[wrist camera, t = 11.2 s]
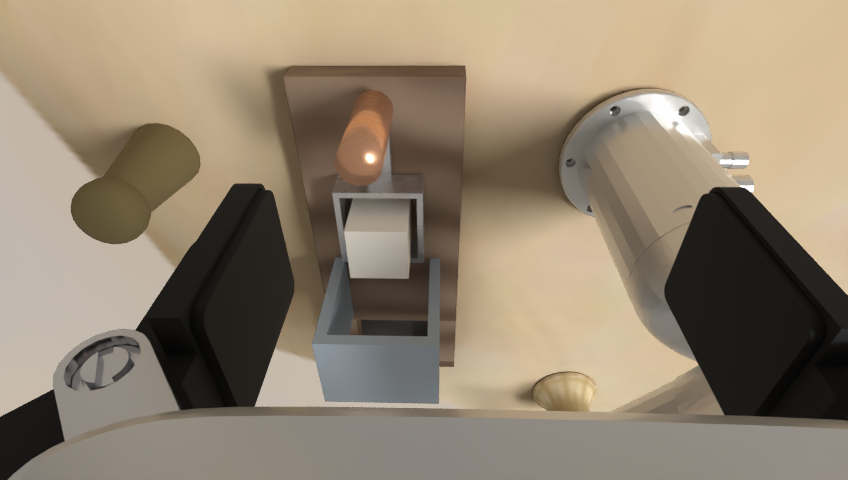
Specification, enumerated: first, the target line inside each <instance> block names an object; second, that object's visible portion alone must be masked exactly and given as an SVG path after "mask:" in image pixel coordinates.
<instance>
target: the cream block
mask: <svg viewBox="0 0 848 480" xmlns="http://www.w3.org/2000/svg"><path fill="white" fill-rule="evenodd" d="M344 235H345V242H346V250H347V257H348V264H349V271H350V278H388V279H409V268H410V256H411V244H412V217H411V199H389V198H353V200H352V204H351V207H350V211H349V215H348V218H347V222H346V226H345V230H344Z"/></svg>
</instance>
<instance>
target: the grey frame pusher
mask: <svg viewBox="0 0 848 480" xmlns="http://www.w3.org/2000/svg"><path fill="white" fill-rule="evenodd" d="M393 113H394V108H393V104H392V102H391V100H390V99H389V97H388V96H387V95H385V94H384V93H382V92H379V91H375V90H370V91H366V92H364V93H362V94H361V95H360V96H359V97H358V98H357V100H356V102H355V105H354V108H353V110H352V113H351V116H350V119H349V121H348V124H347V127H346V129H345V132H344V135H343V138H342V140H341V143H340V146H339V149H338V151H337V154H336V157H335V169H336V171H337V173H338V177H337V180H336V183H335V186H334V189H333V192H332V196H333V202H334V209H335V216H336V222H337V229H338V236H339V242H340V249H341V255H342V262H348V257H347V250H346V242H345V235H344V230H345V226H346V222H347V218H348V215H349V208H348V201H347V198H389V199H417V236H418V238H412V244H411V256H410V263H424V245H425V231H424V175H392V158H391V140H390V129H391V124H392V118H393Z"/></svg>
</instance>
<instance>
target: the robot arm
mask: <svg viewBox="0 0 848 480" xmlns="http://www.w3.org/2000/svg"><path fill="white" fill-rule="evenodd" d="M613 106H615V107H614V108H613V109H611V108H612V107H613ZM681 107H682V108H681ZM680 108H681V109H680ZM711 140H712V135H711V131H710V127H709V123H708V122H707V120H706V118H705V116H704V115H703V113H702V112H701V111H700V110H699V109H698V108H697V107H696V106H695V105H694V104H693V103H692V102H691V101H689V100H688V99H687V98H685V97H684V96H681V95H679V94H677V93H675V92H672V91H667V90H662V89H639V90H633V91H628V92H625V93H622V94H619V95H616V96H614V97H611V98H610V99H608V100H606V101H604V102H602V103H600V104H598V105H597V106H596V107H594V108H593V109H592V110H590V111H589V112H588V113H586V114H585V115H584V116H583V117H582V119H581V120H580V121H579V122H578V123H577V124H576V125H575V126H574V128H573V129H572V131H571V132H570V133H569V135H568V136H567V138H566V141H565V143H564V145H563V147H562V150H561V154H560V159H559V176H560V181H561V184H562V187H563V189H564V192H565V194H566V195H567V197H568V199H569V200H570V202H571V203H572V204H573V205H574V206H575V207H577V208H578V209H579V210H580V211H582V212H583V213H585V214H587V215H589V216H592V217H595V219H596V221H597V223H598V226H599V228H600V230H601V233H602V235H603V237H604V240H605V242H606V244H607V247H608V249H609V251H610V254H611V256H612V258H613V260H614V263H615V265H616V267H617V270H618V272H619V274H620V277H621V279H622V281H623V284H624V286H625V288H626V291H627V293H628V295H629V298H630V300H631V302H632V304H633V307H634V309H635V311H636V313H637V315H638V317H639V319H640V320H641V322H642V324H643V325H644V326H645V327H646V329H647V330H648V331H649V332H650V333H651V334H652V335H653V336H654V337H655V338H656V339H657V340H659V341H660V342H661V343H662V344H664V345H665V346H667V347H668V348H670V349H672V350H673V351H675V352H677V353H679V354H681V355H683V356H685V357H687V358H689V359H692V360H694V361H696V362H697V363H698V364H699V366H697V367H695V368H693V369H691V370H690V371H688V372H686V373H684V374H682V375H680V376H678V377H677V378H676V379H675V380H674V381H672V382H670V383H668V384H666V385H664V386H662V387H660V388H658V389H656V390H654V391H652V392H650V393H648V394H646V395H644V396H642V397H640V398H637V399H635V400H633V401H631V402H629V403H627V404H625V405H623V406H621V407H619V408H617V409H615V410H613V411H612V412H574V411H529V410H480V409H424V408H363V407H361V408H360V407H255V403H256V401H257V398H258V395H259V392H260V389H261V386H262V384H263V381H264V378H265V375H266V372H267V369H268V366H269V363H270V360H271V358H272V355H273V352H274V349H275V346H276V343H277V340H278V337H279V335H280V332H281V329H282V326H283V323H284V320H285V317H286V314H287V312H288V309H289V306H290V303H291V300H292V297H293V294H294V278H293V274H292V270H291V265H290V261H289V257H288V253H287V249H286V244H285V240H284V236H283V232H282V228H281V224H280V219H279V215H278V211H277V207H276V203H275V199H274V195H273V193H272V191H270V190H265V188H264V186H263V185H262V184H234V185H233V186H232V187H231V189H230V190H229V192H228V193H227V195H226V196H225V198H224V200H223V201H222V203H221V204H220V206H219V207H218V209H217V210H216V212H215V213H214V215H213V216H212V218H211V219H210V221H209V222H208V224H207V225H206V227H205V229H204V230H203V232H202V233H201V235H200V236H199V238H198V239H197V241H196V242H195V243H194V244H193V245H192V246H191V247H190V248H189V250H188V251H187V253H186V254H185V256H184V257H183V259H182V260H181V262H180V263H179V265H178V266H177V268H176V270H175V271H174V273H173V274H172V276H171V277H170V279H169V280H168V282H167V283H166V285H165V286H164V288H163V289H162V291H161V292H160V294H159V295H158V297H157V298H156V300H155V302H154V303H153V304H152V306H151V307H150V309H149V311H148V312H147V314H146V315H145V316H144V318H143V320H142V321H141V323H140V324H139V326H138V327H137V329H136V330H128V329H119V330H113V331H108V332H105V333H102V334H99V335H96V336H94V337H92V338H90V339H88V340H86V341H84V342H82V343H81V344H80V345H78V346H77V347H75V348H74V349H73V350H72V351H70V352H69V353H68V354H67V355H66V356H65V357H64V359H63V360H62V361H61V362H60V363H59V365H58V367H57V369H56V371H55V373H54V375H53V388H54V389H53V390H51V391H49V392H47V393H46V394H43V395H42V396H40V397H38V398H36V399H34V400H32V401H30V402H28V403H26V404H24V405H23V406H21V407H18V408H17V409H15V410H13V411H11V412H9V413H7V414H5V415H3V416H1V417H0V480H848V295H847V294H846V293H845V292H844V291H843V290H842V289H841V288H840V287H839V286H838V285H837V284H836V283H835V282H834V281H833V279H832V278H831V277H830V276H829V275H828V274H827V273H826V272H825V271H824V270H823V269H822V268H821V267H820V266H819V265H818V263H817V262H816V261H815V260H814V259H813V258H812V257H811V256H810V255H809V254H808V253H807V252H806V251H805V250H804V249H803V247H802V246H801V245H800V244H799V243H798V242H797V241H796V240H795V239H794V238H793V237H792V236H791V235H790V234H789V233H788V232H787V230H786V229H785V228H784V227H783V226H782V225H781V224H780V223H779V222H778V221H777V220H776V219H775V218H774V217H773V216H772V214H771V213H770V212H769V211H768V210H767V209H766V208H765V207H764V206H763V205H762V204H761V203H760V202H759V201H758V200H757V198H756V197H755V196H754V195H753V194H752V192H753V188H754V183H753V179H752V178H751V177H750V176H748V175H730V174H729V173H728V172H727V171H726V170H725V169H724V168H727V169H744V168H746V167H747V165H748V163H749V155H748V153H746V152H728V153H721V152H720V151H719V150H718V149H717V148H716V147H715V146H714V145H713V144H712V143H711ZM568 159H570V160H568Z"/></svg>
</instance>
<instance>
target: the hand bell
mask: <svg viewBox="0 0 848 480" xmlns="http://www.w3.org/2000/svg"><path fill="white" fill-rule="evenodd" d="M595 393H596V384H595V382H594V381H593V380H592V379H591V378H590V377H588V376H586V375H584V374H581V373H575V372H562V373H556V374H553V375H550V376H547V377H546V378H544V379H542V380H541V381H540V382H538V383H537V384H536V386H535V388H534V389H533V397H534V400H535V401H536V402H537V403H538V405H540V406H541V407H542V408H544V409H546V410H547V411H574V412H589V405H590V402H591V401H592V399H593V398H594V396H595Z"/></svg>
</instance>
